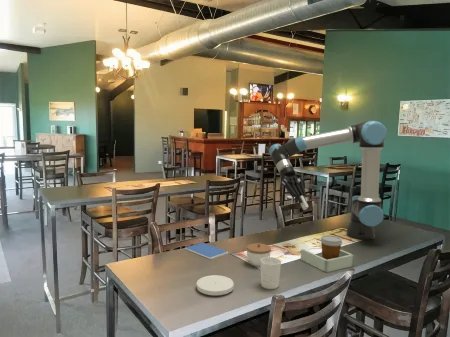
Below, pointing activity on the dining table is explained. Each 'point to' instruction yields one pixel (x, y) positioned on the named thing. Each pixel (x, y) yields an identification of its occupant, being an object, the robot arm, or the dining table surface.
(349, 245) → the dining table surface
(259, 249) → the lidded jar
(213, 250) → the blue notebook
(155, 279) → the dining table surface
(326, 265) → the tub
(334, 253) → the disposable coffee cup
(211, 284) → the plastic lid
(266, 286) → the white cup
